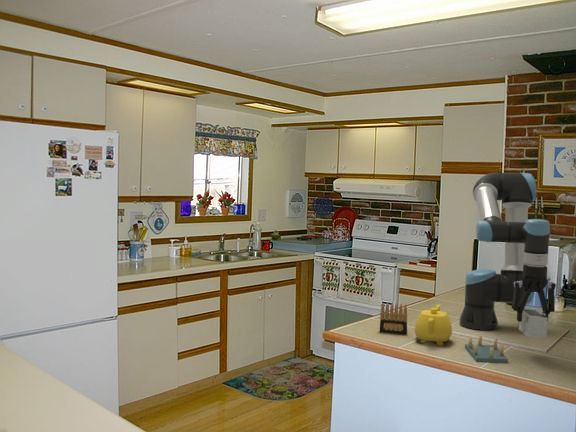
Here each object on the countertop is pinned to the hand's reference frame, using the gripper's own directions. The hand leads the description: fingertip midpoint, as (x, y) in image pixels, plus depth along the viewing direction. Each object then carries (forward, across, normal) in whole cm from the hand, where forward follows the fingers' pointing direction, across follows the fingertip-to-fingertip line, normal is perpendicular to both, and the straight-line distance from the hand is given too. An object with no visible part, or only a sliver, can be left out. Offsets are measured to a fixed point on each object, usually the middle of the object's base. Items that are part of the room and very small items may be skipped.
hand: (531, 330), depth 185 cm
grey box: (+1, 0, 0) cm, 1 cm away
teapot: (+10, -30, +15) cm, 35 cm away
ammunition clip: (+10, -44, +23) cm, 51 cm away
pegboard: (+9, -15, 0) cm, 18 cm away
